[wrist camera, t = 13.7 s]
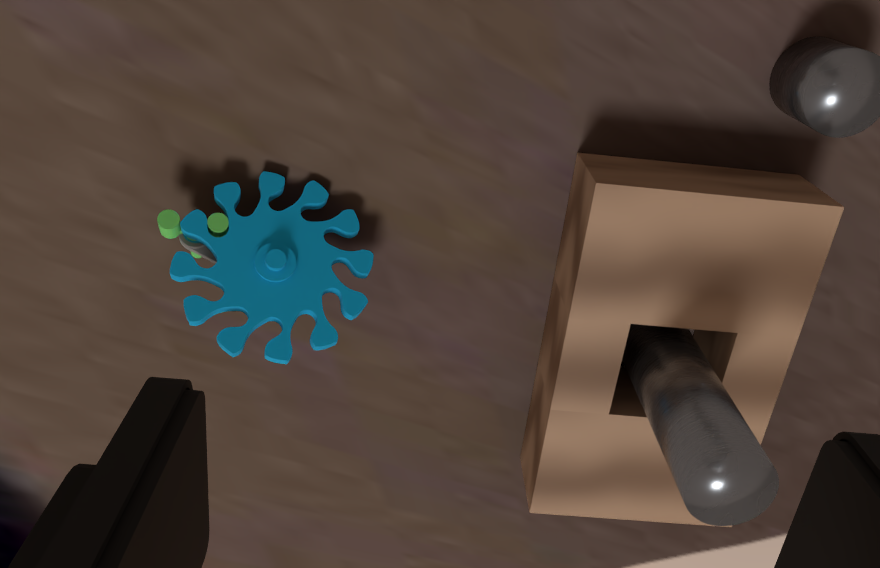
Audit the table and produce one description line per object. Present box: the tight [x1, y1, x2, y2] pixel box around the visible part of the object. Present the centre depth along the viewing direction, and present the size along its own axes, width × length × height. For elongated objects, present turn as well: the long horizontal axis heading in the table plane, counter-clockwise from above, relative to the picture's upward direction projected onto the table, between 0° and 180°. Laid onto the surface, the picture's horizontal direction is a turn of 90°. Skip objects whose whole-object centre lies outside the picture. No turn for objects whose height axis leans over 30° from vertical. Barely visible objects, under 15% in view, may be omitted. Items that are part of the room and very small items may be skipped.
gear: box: [157, 171, 374, 364], centre depth 41 cm, size 11×6×10 cm
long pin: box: [622, 324, 779, 526], centre depth 39 cm, size 4×4×14 cm
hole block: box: [520, 153, 844, 527], centre depth 43 cm, size 20×12×5 cm, turn 174°
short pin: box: [770, 37, 880, 137], centre depth 37 cm, size 4×4×4 cm
